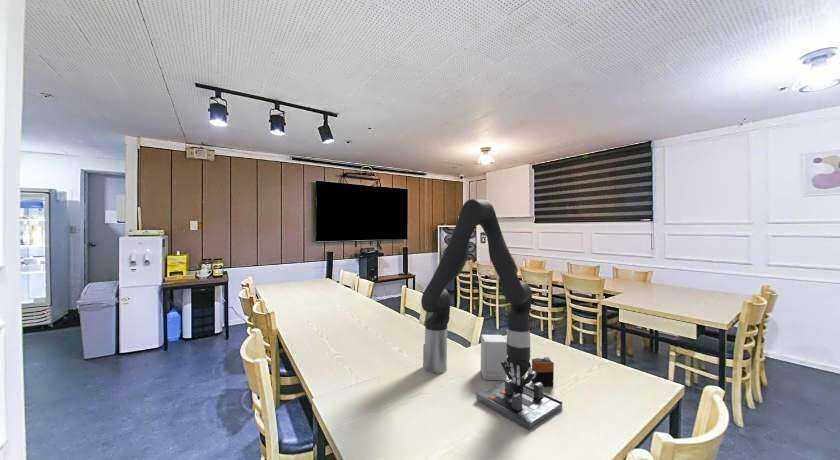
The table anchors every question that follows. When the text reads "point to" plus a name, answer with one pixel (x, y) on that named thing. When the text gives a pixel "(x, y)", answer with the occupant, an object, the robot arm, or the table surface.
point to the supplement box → (493, 357)
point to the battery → (543, 371)
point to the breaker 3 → (538, 390)
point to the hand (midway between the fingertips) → (518, 394)
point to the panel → (531, 409)
